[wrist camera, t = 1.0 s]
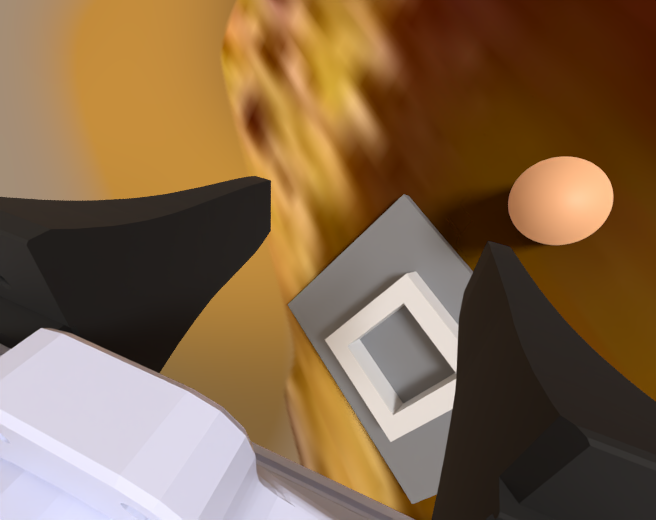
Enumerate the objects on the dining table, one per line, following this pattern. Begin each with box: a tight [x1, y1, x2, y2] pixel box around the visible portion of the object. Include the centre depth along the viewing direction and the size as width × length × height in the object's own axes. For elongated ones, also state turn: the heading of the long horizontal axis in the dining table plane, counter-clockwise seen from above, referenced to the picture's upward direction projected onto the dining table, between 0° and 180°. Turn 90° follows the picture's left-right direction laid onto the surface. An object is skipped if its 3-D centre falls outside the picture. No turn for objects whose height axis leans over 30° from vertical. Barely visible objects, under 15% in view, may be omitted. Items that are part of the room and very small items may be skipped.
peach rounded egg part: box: [508, 157, 613, 245], centre depth 18 cm, size 4×4×6 cm
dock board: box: [288, 195, 473, 504], centre depth 25 cm, size 18×14×3 cm
